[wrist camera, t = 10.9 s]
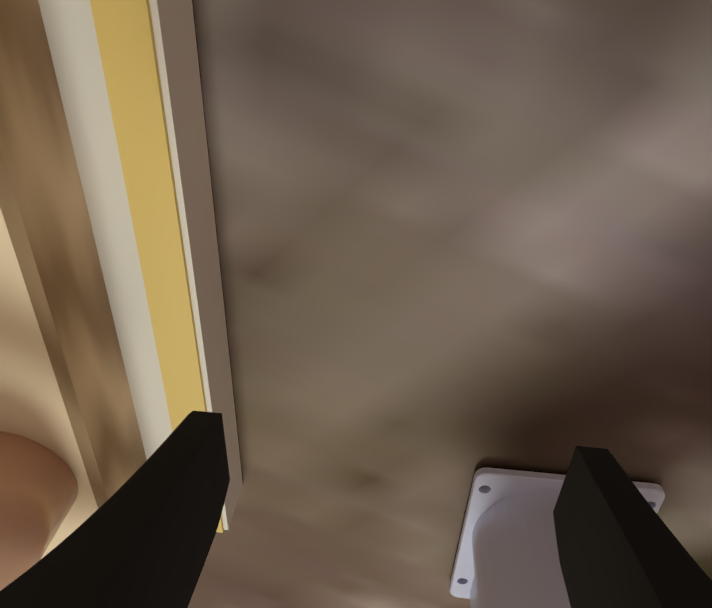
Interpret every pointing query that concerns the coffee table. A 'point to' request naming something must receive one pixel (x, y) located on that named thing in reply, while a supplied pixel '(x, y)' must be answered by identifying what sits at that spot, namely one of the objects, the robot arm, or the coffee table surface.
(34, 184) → the beige long bar
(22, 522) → the cylinder
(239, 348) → the coffee table surface
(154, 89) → the dock
